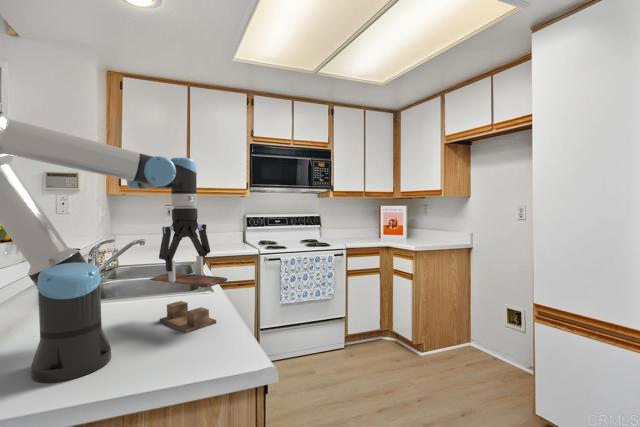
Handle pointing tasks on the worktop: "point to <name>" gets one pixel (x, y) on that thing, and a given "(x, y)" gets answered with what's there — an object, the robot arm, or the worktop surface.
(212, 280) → the wooden tablet
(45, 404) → the worktop surface
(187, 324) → the walnut stand
